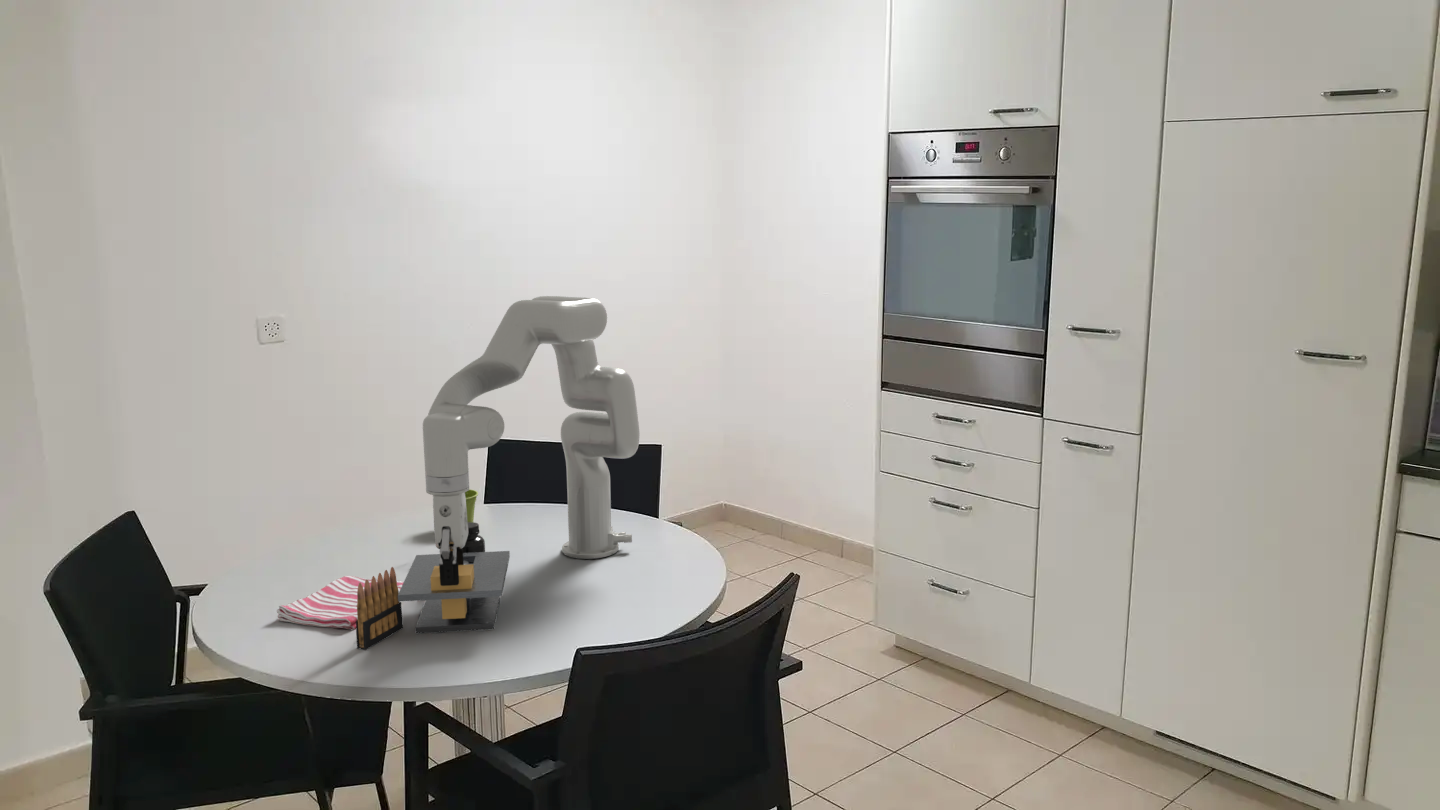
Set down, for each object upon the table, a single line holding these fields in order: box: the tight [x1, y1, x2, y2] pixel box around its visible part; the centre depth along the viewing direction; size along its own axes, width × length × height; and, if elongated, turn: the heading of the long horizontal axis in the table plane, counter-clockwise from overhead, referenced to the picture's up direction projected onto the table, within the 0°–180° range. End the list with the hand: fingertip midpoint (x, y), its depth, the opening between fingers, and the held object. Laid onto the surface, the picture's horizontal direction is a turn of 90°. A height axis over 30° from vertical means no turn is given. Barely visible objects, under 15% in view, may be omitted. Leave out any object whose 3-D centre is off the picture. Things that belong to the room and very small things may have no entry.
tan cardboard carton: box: [430, 564, 474, 619], centre depth 194 cm, size 7×6×8 cm
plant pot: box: [465, 488, 479, 522], centre depth 255 cm, size 9×9×9 cm
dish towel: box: [276, 575, 404, 631], centre depth 208 cm, size 17×23×4 cm
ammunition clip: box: [355, 566, 404, 651], centre depth 191 cm, size 11×2×12 cm, turn 159°
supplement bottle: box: [459, 521, 486, 564], centre depth 220 cm, size 7×7×12 cm
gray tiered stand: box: [398, 550, 511, 635], centre depth 200 cm, size 18×22×10 cm
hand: (452, 576), depth 193 cm, fingers open, 7 cm apart
